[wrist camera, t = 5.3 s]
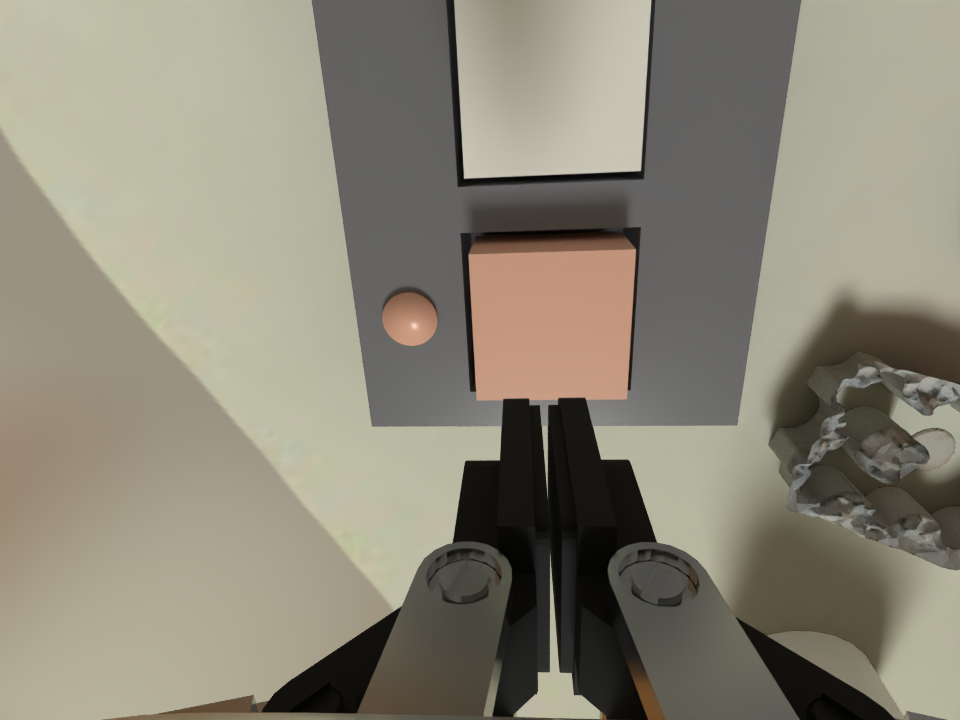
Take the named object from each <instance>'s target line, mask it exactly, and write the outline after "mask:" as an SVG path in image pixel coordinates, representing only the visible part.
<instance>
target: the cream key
mask: <svg viewBox="0 0 960 720" xmlns="http://www.w3.org/2000/svg"><path fill="white" fill-rule="evenodd" d="M454 6H455V24H456V42H457V59H458V77H459V95H460V113H461V130H462V148H463V166H464V179H466V178H489V177H512V176H536V175H559V174H582V173H606V172H629V171H641V160H642V144H643V128H644V111H645V95H646V79H647V62H648V46H649V30H650V13H651V0H454Z"/></svg>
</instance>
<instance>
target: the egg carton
mask: <svg viewBox="0 0 960 720" xmlns="http://www.w3.org/2000/svg"><path fill="white" fill-rule="evenodd" d="M877 382H880V383H882V384H883V385H884V386H885V387H887V388H888V389H889V390H890V391H892V392H893V393H894V394H895V395H896V396H898V397H899V398H900V399H902V400H903V401H904V402H906V403H907V404H908V405H910V406H911V407H913V408H915V409H916V410H917V411H918V412H920V413H921V414H922V415H925V416H930V415H932V414H933V410H934V409H935V408H936V407H938V406H942V405H947V404H950V405H951V407H953V408H954V409H956V410H957V411H959V412H960V385H959V384H956V383H953V382H950V381H947V380H942V379H937V378H933V377H929V376H926V375H922V374H918V373H914V372H911V371H908V370H898V369H894V368H891V367H890V366H889V365H887V364H885V363H884V362H883V361H882V360H881V359H879V358H877V357H875V356H873V355H871V354H867V353H862V352H856V353H855V354H853V355H852V356H851V357H850V358H849V359H848V360H846V361H844V362H842V363H840V364H836V365H832V366H817V367H816V368H815V370H814V371H813V373H812V375H811V377H810V378H809V379H808V381H807V386H808V387H810V388H811V389H812V390H813V391H814V392H815V393H816V394H817V395H818V397H819V408H818V412H817V413H816V415H815V416H814V417H813V418H812V419H811V420H810V421H809V422H807V423H805V424H803V425H801V426H798V427H794V428H779V429H778V430H777V431H776V433H775V435H774V437H773V438H772V440H771V441H770V443H769V446H770V448H771V449H772V450H773V452H774V453H775V454H776V456H777V457H778V458H779V460H780V461H781V467H780V470H779V473H780V474H781V476H782V478H783V479H784V480H785V482H786V483H787V484H788V485H789V487H790V491H789V497H788V503H787V508H788V509H789V510H790V511H794V512H798V513H801V514H805V515H808V516H811V517H815V516H817V517H820V518H823V519H825V520H827V521H829V522H831V523H832V524H833V525H834V526H840V525H841V526H843V527H845V528H846V529H848V530H849V531H851V532H852V533H854V534H855V535H857V536H858V537H861V538H867V539H872V540H875V541H878V542H880V543H883V544H885V545H888V546H890V547H893V548H897V549H902V550H904V551H906V552H908V553H910V554H913V555H915V556H917V557H920V558H922V559H924V560H926V561H929V562H931V563H933V564H936V565H938V566H940V567H943V568H948V569H952V570H959V569H960V506H951V507H945V508H942V509H939V510H938V511H936V512H934V513H933V514H932V515H930V514H929V513H928V512H927V511H926V510H925V509H924V508H923V507H922V506H921V505H920V504H919V503H918V502H917V501H916V500H915V499H914V498H913V497H912V496H911V495H910V494H908V493H907V492H906V491H905V490H904V489H902V488H899V487H890V486H886V487H882V488H879V489H876V490H874V491H872V492H871V493H869V494H868V495H866V496H865V497H864V496H863V495H862V494H861V492H860V491H859V490H858V489H857V488H856V487H855V486H854V485H853V484H852V482H851V481H850V480H849V479H848V478H847V477H846V476H845V475H844V473H843V472H842V471H841V470H839V469H837V468H835V467H833V466H829V465H820V466H816V467H813V468H811V469H810V468H809V466H810V465H812V464H813V463H814V462H820V461H821V459H822V457H823V456H824V454H825V453H826V451H829V450H834V449H838V448H839V447H842V448H843V450H844V451H845V452H846V453H847V454H848V455H849V456H850V457H851V458H852V459H853V460H854V461H855V462H856V464H857V465H858V466H859V467H860V468H861V469H862V470H863V471H864V472H865V473H867V474H868V475H870V476H871V477H873V478H875V479H876V480H878V481H880V482H882V483H889V484H893V483H895V482H897V481H899V480H900V478H903V477H904V476H906V475H907V474H909V473H910V472H911V471H913V470H915V471H931V470H933V469H936V468H939V467H940V466H942V465H944V464H945V463H947V462H948V461H949V459H950V458H951V456H952V455H953V454H954V453H955V452H954V449H955V441H954V439H953V437H952V435H951V434H950V433H948V432H947V431H945V430H939V429H938V428H937V429H933V428H932V429H927V430H923V431H920V432H917V433H916V434H914V435H913V436H911V435H910V434H909V433H908V432H907V431H905V430H904V429H903V428H901V427H900V426H899V425H898V424H896V423H895V422H894V421H893V420H892V419H891V418H889V417H888V416H887V415H886V414H884V413H883V412H882V411H881V410H879V409H877V408H874V407H869V406H862V407H856V408H853V409H851V410H849V411H847V412H846V413H845V408H844V407H843V406H841V405H840V404H839V403H838V402H837V399H836V395H837V393H838V391H839V390H840V389H841V388H842V387H843V386H852V387H856V388H865V387H867V386H868V385H870V384H873V383H877Z"/></svg>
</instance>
